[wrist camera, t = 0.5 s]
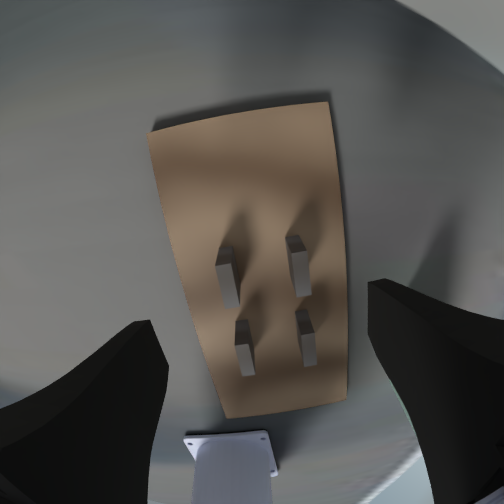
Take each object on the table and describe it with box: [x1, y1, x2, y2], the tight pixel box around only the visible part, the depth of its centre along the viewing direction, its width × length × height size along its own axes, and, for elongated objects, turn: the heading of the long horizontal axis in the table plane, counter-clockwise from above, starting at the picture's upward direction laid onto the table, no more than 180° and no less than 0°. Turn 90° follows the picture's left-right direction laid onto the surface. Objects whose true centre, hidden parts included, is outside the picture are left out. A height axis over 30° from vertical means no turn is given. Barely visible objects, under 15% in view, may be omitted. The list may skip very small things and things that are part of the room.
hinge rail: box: [146, 102, 348, 419], centre depth 18 cm, size 22×10×3 cm, turn 10°
